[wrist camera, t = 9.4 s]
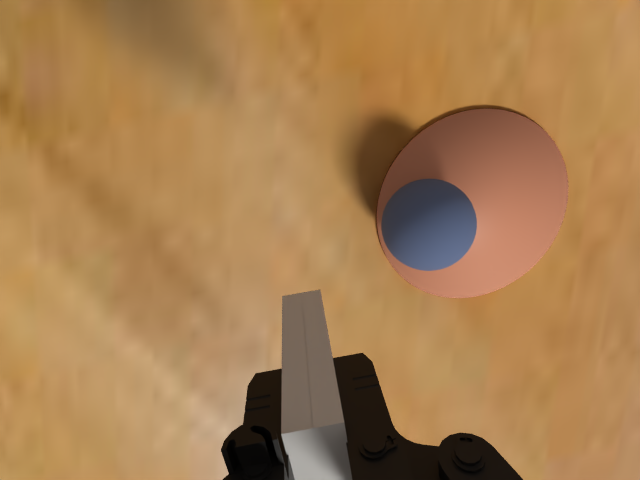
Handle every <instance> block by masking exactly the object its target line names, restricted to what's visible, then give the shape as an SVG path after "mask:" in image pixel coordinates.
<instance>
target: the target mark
mask: <svg viewBox="0 0 640 480" xmlns="http://www.w3.org/2000/svg"><path fill="white" fill-rule="evenodd" d="M420 179H439V180H443V181H446V182H449V183H451V184H453V185H455V186H456V187H458V188H459V189H460V190H461V191H463V192H464V193H465V194H466V196H467V197H468V198H469V200H470V201H471V203H472V205H473V207H474V210H475V213H476V218H477V230H476V235H475V239H474V241H473V244H472V245H471V247H470V249H469V250H468V252H467V253H466V254H465V255H464V256H463V257H462V258H461V259H460V260H459V261H458V262H456V263H454V264H453V265H451V266H449V267H447V268H443V269H440V270H434V271H423V270H417V269H414V268H411V267H408V266H406V265H404V264H403V263H401V262H400V261H399V260H397V259H396V258H395V257H394V256H393V255H392V254H391V252H390V251H389V249H388V248H387V246H386V244H385V242H384V239H383V236H382V230H381V222H382V215H383V211H384V209H385V206H386V204H387V202H388V201H389V199H390V198H391V197H392V195H393V194H394V193H395V192H396V191H398V190H399V189H400V188H401V187H403V186H404V185H406V184H408V183H410V182H413V181H416V180H420ZM567 201H568V177H567V171H566V167H565V163H564V160H563V158H562V155H561V153H560V151H559V149H558V147H557V146H556V144H555V142H554V141H553V140H552V139H551V137H550V136H549V135H548V134H547V132H545V131H544V130H543V129H542V128H541V127H540V126H539V125H537V124H536V123H534V122H533V121H531V120H529V119H528V118H526V117H524V116H521V115H519V114H516V113H513V112H509V111H505V110H498V109H473V110H468V111H463V112H459V113H456V114H453V115H450V116H447V117H445V118H443V119H441V120H439V121H437V122H435V123H433V124H432V125H430V126H429V127H427V128H426V129H424V130H423V131H421V132H420V133H419V134H418V135H417V136H415V137H414V138H413V139H412V140H411V141H410V142H409V143H408V144H407V145H406V146H405V147H404V148H403V149H402V151H401V152H400V153H399V155H398V156H397V157H396V159H395V160H394V162H393V163H392V165H391V167H390V169H389V170H388V172H387V174H386V177H385V179H384V182H383V184H382V187H381V191H380V194H379V198H378V205H377V229H378V235H379V239H380V243H381V246H382V248H383V251H384V253H385V255H386V257H387V259H388V260H389V262H390V263H391V265H392V267H393V268H394V269H395V270H396V271H397V272H398V274H399V275H400V276H401V277H403V278H404V279H405V280H406V281H407V282H409V283H410V284H412V285H413V286H415V287H416V288H418V289H420V290H423V291H425V292H427V293H430V294H433V295H437V296H442V297H448V298H467V297H475V296H480V295H484V294H487V293H490V292H493V291H496V290H498V289H500V288H503V287H505V286H507V285H508V284H510V283H512V282H514V281H515V280H517V279H518V278H520V277H521V276H522V275H524V274H525V273H526V272H528V271H529V270H530V269H531V268H532V267H533V266H534V265H535V264H536V263H537V262H538V261H539V260H540V259H541V258H542V257H543V255H544V254H545V253H546V251H547V250H548V249H549V247H550V246H551V244H552V242H553V241H554V239H555V237H556V236H557V234H558V231H559V229H560V227H561V224H562V222H563V218H564V215H565V212H566V206H567Z"/></svg>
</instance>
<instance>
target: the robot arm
mask: <svg viewBox="0 0 640 480" xmlns="http://www.w3.org/2000/svg"><path fill="white" fill-rule="evenodd" d="M246 400H247V402H246V406H245V414H244V422H243V425H241V426H240V427H238V428H237V429H235V430H234V431H232V432H231V433H230V434H229V436H228V437H227V438H226V439H225V441H224V443H223V446H222V448H221V452H222V455H223V458H224V461H225V463H226V466H227V469H228V472H229V474H228V475H227V476H226V477H225V478H224V479H223V480H523V479H522V478H521V477H520V476H519V475H518V473H517V472H516V471H515V470H514V469H513V468H512V467H511V466H510V465H509V464H508V462H507V461H506V460H505V459H504V458H503V457H502V456H501V455H500V454H499V453H498V452H497V450H496V449H495V448H494V447H493V446H492V445H491V444H489V443H488V442H487V441H486V440H484V439H483V438H481V437H478V436H476V435H473V434H468V433H457V434H453V435H449V436H448V437H447V438H445V439H444V440H442V442H441V444H440V446H430V445H422V444H417V443H414V442H411V441H409V440H407V439H405V438H404V437H402V436H401V435H400V434H399V433H398V432H397V431H396V430H395V428H394V426H393V424H392V421H391V418H390V415H389V412H388V409H387V406H386V403H385V400H384V397H383V393H382V390H381V387H380V385H379V381H378V378H377V376H376V372H375V369H374V366H373V363H372V361H371V360H370V359H369V358H368V357H367V356H366V355H364V354H363V353H359V354H353V355H348V356H342V357H337V358H333V357H332V352H331V346H330V341H329V335H328V330H327V324H326V319H325V313H324V308H323V302H322V297H321V291H320V290H315V291H309V292H303V293H298V294H292V295H287V296H282V369H277V370H272V371H266V372H261V373H256V374H255V375H254V377H253V379H252V380H251V382H250V383H249V385H248V389H247V397H246Z"/></svg>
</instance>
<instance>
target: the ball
mask: <svg viewBox="0 0 640 480" xmlns="http://www.w3.org/2000/svg"><path fill="white" fill-rule="evenodd" d="M381 230H382V236H383V239H384V242H385V244H386V246H387V248H388V249H389V251H390V252H391V254H392V255H393V256H394V257H395V258H396V259H397V260H399V261H400V262H401V263H403V264H404V265H406V266H408V267H411V268H414V269H417V270H423V271H434V270H440V269H443V268H447V267H449V266H451V265H453V264H454V263H456V262H458V261H459V260H460V259H461V258H462V257H463V256H464V255H465V254H466V253H467V252H468V250H469V249H470V247H471V245H472V244H473V241H474V239H475V235H476V230H477V218H476V213H475V210H474V207H473V205H472V203H471V201H470V200H469V198H468V197H467V196H466V194H465V193H464V192H463V191H461V190H460V189H459V188H458V187H456V186H455V185H453V184H451V183H449V182H446V181H443V180H439V179H420V180H416V181H413V182H410V183H408V184H406V185H404V186H403V187H401V188H400V189H399V190H398V191H396V192H395V193H394V194H393V195H392V197H391V198H390V199H389V201H388V202H387V204H386V206H385V209H384V211H383V215H382V222H381Z"/></svg>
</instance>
